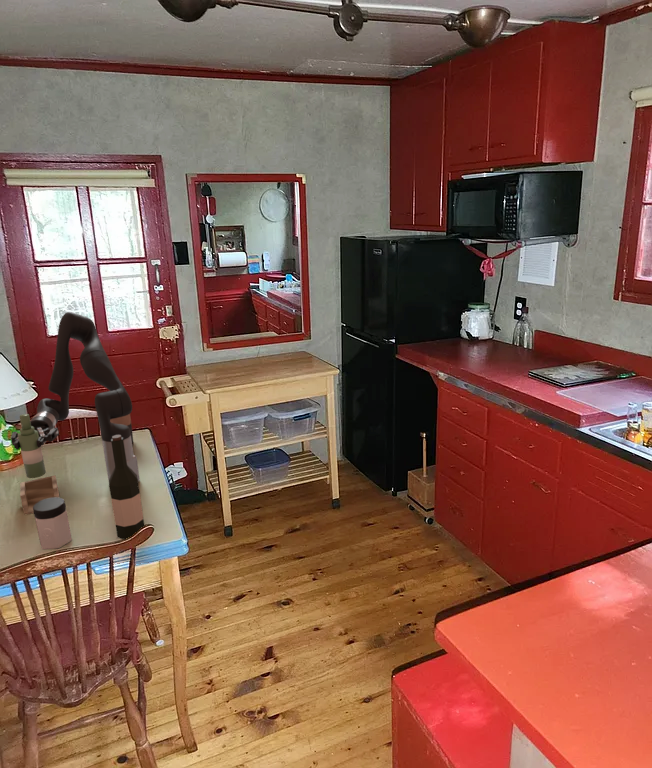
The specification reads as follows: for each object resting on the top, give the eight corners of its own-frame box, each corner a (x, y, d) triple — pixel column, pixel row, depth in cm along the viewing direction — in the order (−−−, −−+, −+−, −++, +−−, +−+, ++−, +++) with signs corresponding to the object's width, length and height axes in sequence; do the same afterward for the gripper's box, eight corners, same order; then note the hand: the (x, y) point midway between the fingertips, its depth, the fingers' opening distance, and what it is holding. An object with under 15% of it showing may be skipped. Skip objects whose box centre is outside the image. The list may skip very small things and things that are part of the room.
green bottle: (50, 471, 183) (38, 413, 177) (36, 479, 178) (24, 419, 172) (35, 469, 185) (24, 411, 179) (22, 477, 180) (9, 417, 174)
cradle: (24, 500, 186) (20, 482, 185) (58, 493, 191) (55, 475, 189) (24, 514, 178) (20, 496, 176) (60, 506, 182) (57, 487, 180)
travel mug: (129, 438, 235) (122, 392, 230) (137, 443, 230) (130, 396, 224) (111, 444, 231) (103, 397, 225) (118, 449, 225) (111, 401, 219)
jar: (33, 550, 158) (25, 512, 155) (45, 534, 166) (38, 497, 163) (66, 548, 159) (59, 510, 155) (77, 532, 167) (70, 496, 163)
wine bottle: (140, 539, 162) (126, 441, 153) (111, 539, 162) (95, 442, 154) (149, 523, 170) (136, 430, 161) (122, 524, 170) (107, 431, 161)
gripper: (16, 417, 189) (-1, 436, 173) (62, 413, 192) (50, 431, 176) (20, 438, 191) (4, 459, 175) (66, 433, 194) (54, 453, 178)
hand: (27, 445), depth 176 cm, fingers closed on green bottle, 5 cm apart
